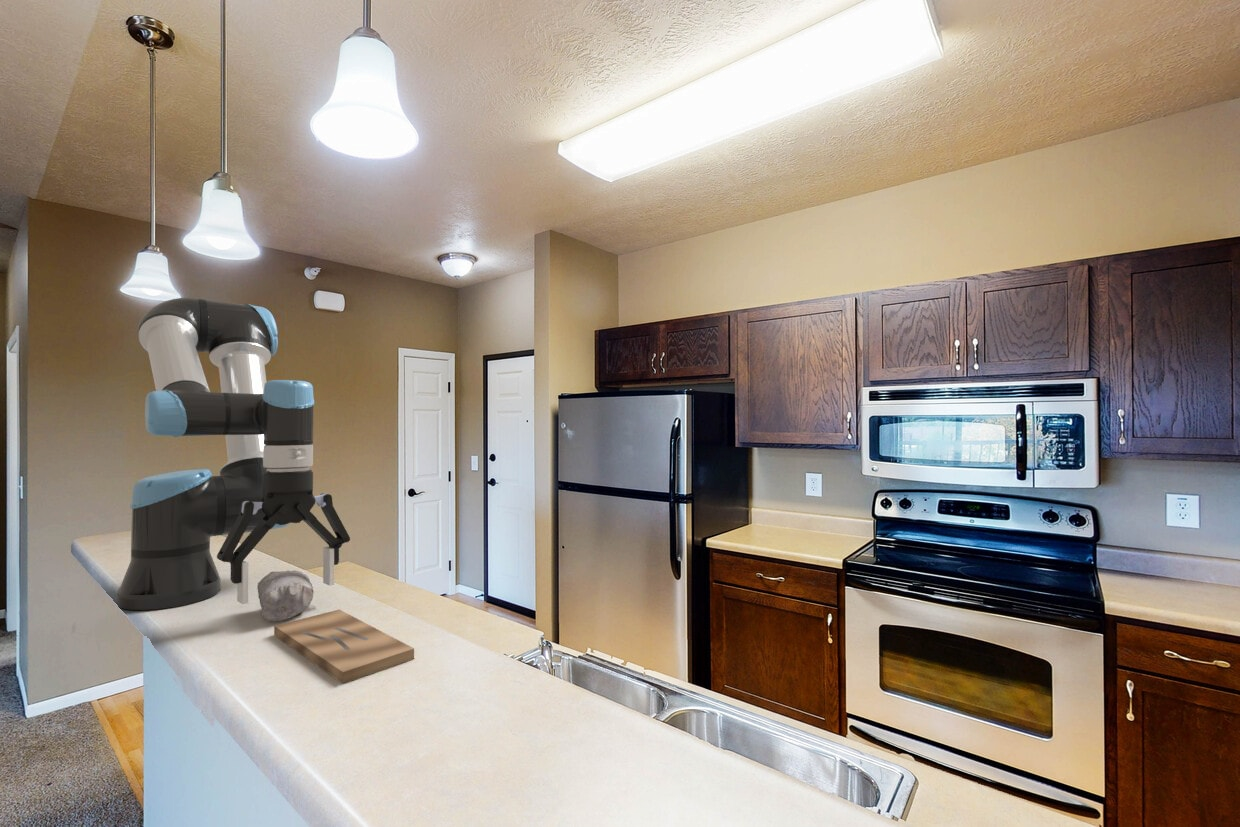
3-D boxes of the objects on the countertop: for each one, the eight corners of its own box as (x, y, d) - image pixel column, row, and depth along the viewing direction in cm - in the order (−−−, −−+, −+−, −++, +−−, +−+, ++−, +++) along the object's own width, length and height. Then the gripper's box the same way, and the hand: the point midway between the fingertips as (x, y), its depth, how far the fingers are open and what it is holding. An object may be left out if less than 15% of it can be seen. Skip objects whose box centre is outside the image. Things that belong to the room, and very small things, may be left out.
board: (274, 635, 90) (274, 625, 90) (339, 618, 97) (339, 609, 97) (342, 683, 74) (343, 671, 74) (414, 658, 82) (414, 648, 82)
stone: (261, 629, 92) (263, 586, 92) (256, 608, 102) (257, 569, 102) (317, 620, 97) (318, 579, 97) (307, 600, 106) (308, 563, 106)
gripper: (209, 476, 87) (207, 616, 87) (369, 466, 106) (369, 580, 106) (195, 473, 92) (194, 605, 92) (350, 464, 111) (350, 573, 111)
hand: (287, 592), depth 99 cm, fingers open, 13 cm apart
